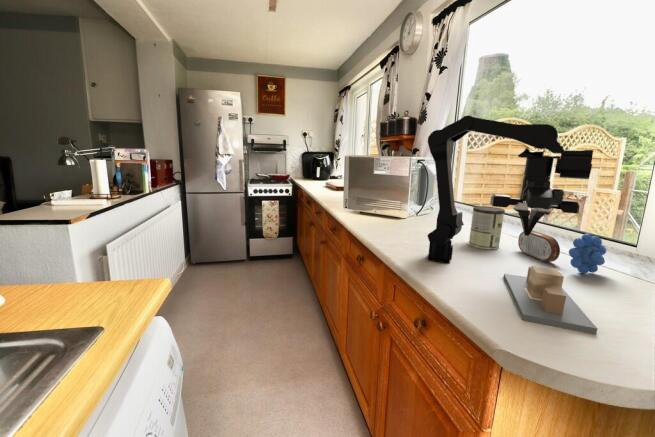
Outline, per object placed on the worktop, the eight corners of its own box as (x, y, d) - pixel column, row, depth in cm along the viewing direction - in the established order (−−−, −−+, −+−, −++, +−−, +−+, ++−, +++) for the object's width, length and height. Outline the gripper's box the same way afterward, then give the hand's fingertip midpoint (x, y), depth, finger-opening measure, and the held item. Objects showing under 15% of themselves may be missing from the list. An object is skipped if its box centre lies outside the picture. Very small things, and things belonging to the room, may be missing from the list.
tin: (558, 265, 95) (563, 239, 94) (549, 265, 95) (554, 239, 93) (522, 250, 110) (526, 227, 108) (514, 250, 110) (518, 227, 108)
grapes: (579, 280, 84) (589, 237, 81) (558, 270, 90) (566, 231, 88) (615, 279, 86) (625, 237, 83) (591, 270, 92) (600, 231, 90)
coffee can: (470, 240, 121) (475, 205, 118) (499, 245, 116) (505, 208, 113) (466, 246, 113) (471, 208, 110) (497, 251, 107) (504, 212, 104)
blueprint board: (522, 319, 61) (526, 295, 60) (503, 277, 83) (506, 259, 82) (596, 334, 57) (602, 308, 56) (555, 285, 79) (559, 266, 78)
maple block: (531, 297, 69) (536, 272, 67) (526, 289, 73) (531, 265, 72) (558, 302, 67) (563, 276, 66) (551, 293, 71) (556, 269, 70)
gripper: (500, 175, 74) (490, 237, 77) (595, 180, 68) (581, 248, 71) (494, 173, 84) (486, 228, 87) (576, 177, 78) (564, 237, 81)
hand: (526, 235), depth 81 cm, fingers closed
